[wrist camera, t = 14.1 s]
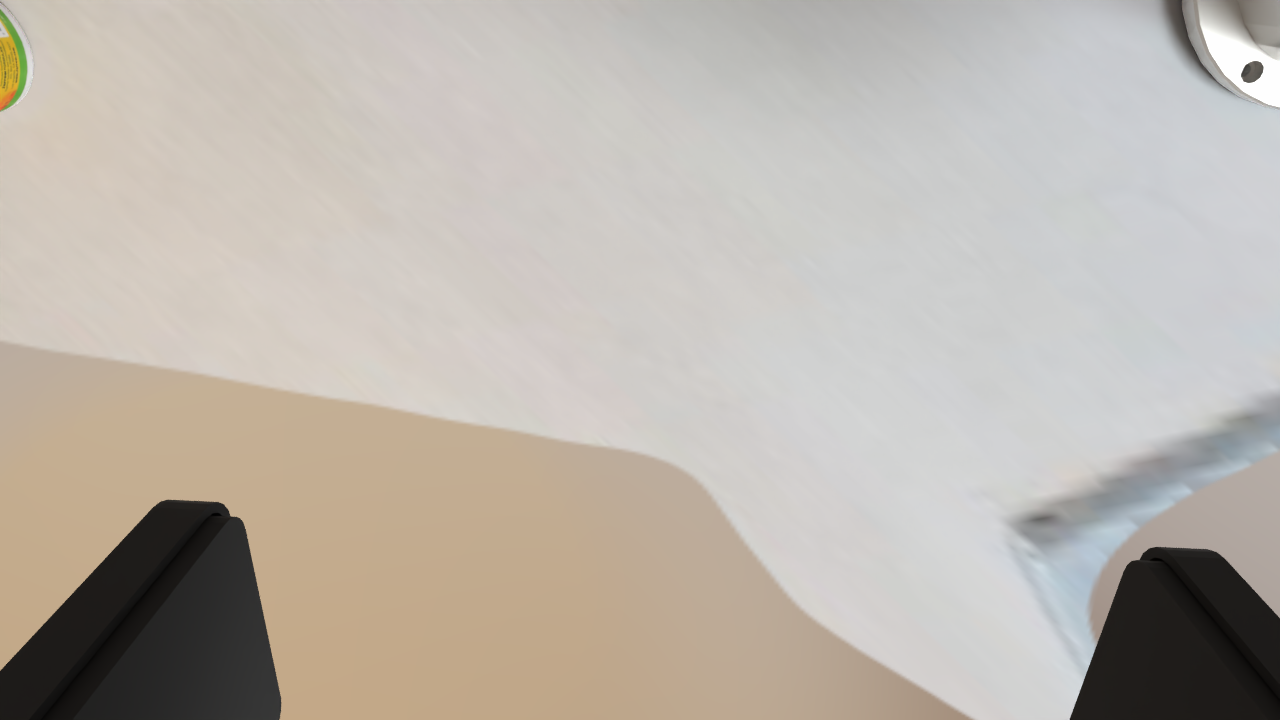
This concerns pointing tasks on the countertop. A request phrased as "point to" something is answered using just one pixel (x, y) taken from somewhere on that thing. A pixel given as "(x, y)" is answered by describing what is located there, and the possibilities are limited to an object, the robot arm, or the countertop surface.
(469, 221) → the countertop surface
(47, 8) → the countertop surface
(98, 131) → the countertop surface
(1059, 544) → the countertop surface
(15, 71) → the supplement bottle
